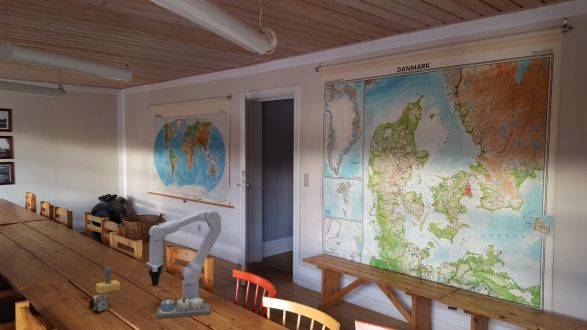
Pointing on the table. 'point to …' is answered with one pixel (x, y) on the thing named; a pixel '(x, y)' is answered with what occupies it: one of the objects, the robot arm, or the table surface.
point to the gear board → (187, 313)
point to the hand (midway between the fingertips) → (155, 283)
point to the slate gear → (167, 306)
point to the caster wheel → (100, 302)
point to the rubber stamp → (107, 283)
